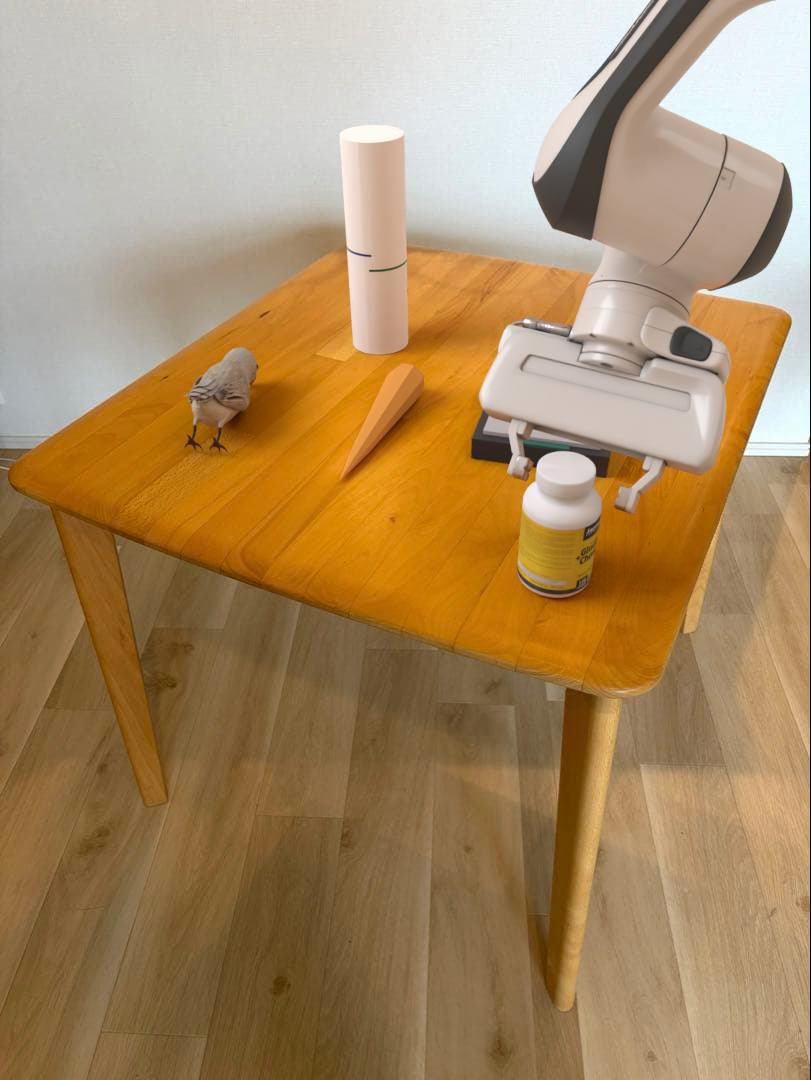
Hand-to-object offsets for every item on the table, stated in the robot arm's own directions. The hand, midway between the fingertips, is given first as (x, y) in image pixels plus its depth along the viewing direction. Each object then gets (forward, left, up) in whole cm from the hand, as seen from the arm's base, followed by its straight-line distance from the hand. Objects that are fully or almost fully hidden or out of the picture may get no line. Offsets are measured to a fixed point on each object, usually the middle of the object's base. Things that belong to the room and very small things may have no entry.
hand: (568, 493), depth 71 cm
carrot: (+22, -17, -8) cm, 29 cm away
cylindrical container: (+28, -38, -8) cm, 48 cm away
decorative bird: (+39, -16, -8) cm, 43 cm away
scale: (+4, -22, -8) cm, 23 cm away
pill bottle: (0, +1, -8) cm, 8 cm away
